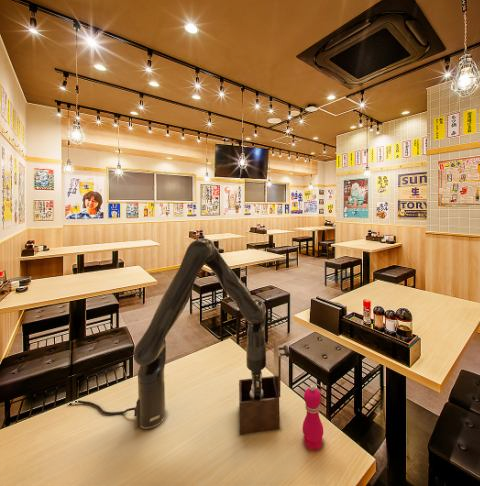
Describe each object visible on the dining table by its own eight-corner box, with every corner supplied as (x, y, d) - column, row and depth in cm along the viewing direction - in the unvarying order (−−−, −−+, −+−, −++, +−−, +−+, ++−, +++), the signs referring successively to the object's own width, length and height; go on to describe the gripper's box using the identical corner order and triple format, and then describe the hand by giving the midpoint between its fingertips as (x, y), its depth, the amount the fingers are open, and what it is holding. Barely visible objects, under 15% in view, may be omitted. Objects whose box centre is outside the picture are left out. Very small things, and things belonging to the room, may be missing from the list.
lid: (278, 356, 94) (292, 355, 94) (273, 338, 106) (285, 337, 107) (278, 397, 94) (291, 396, 95) (273, 374, 107) (285, 373, 107)
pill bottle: (250, 404, 102) (250, 380, 102) (264, 404, 102) (263, 380, 102) (249, 415, 97) (248, 390, 97) (263, 415, 97) (263, 390, 97)
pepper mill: (310, 455, 85) (309, 396, 84) (298, 437, 91) (298, 382, 90) (327, 445, 88) (327, 388, 87) (315, 429, 94) (314, 376, 94)
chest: (239, 434, 92) (239, 403, 92) (239, 407, 105) (239, 379, 105) (279, 429, 95) (279, 398, 94) (274, 403, 107) (274, 375, 107)
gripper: (245, 344, 105) (246, 384, 106) (247, 366, 91) (247, 412, 92) (264, 342, 107) (264, 382, 107) (268, 364, 92) (268, 410, 93)
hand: (256, 396), depth 99 cm, fingers closed on pill bottle, 5 cm apart
